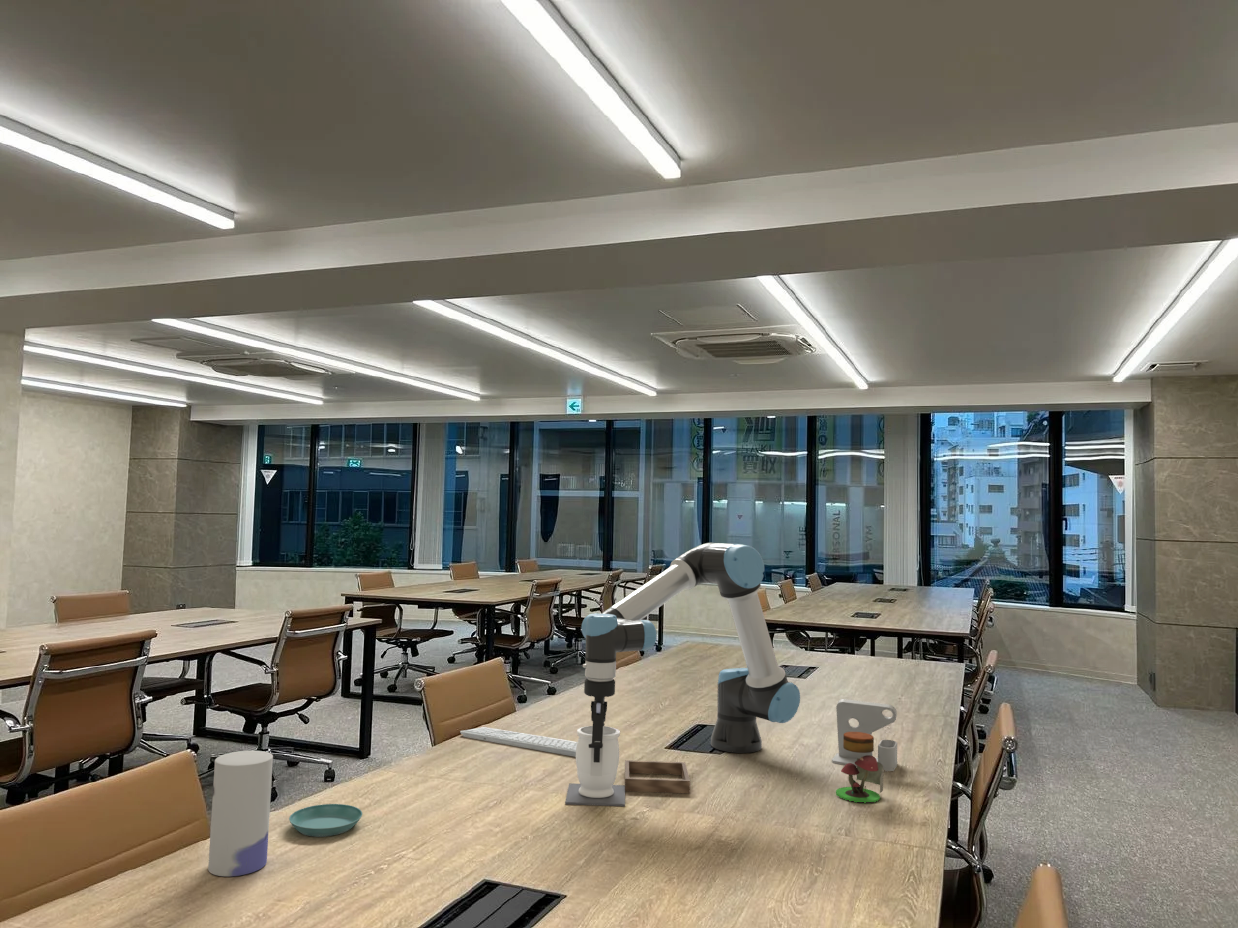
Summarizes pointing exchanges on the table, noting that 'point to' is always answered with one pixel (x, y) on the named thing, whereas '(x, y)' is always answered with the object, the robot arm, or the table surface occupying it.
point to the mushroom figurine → (861, 769)
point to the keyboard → (523, 740)
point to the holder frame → (657, 784)
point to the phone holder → (865, 730)
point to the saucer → (325, 819)
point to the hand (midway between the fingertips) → (597, 766)
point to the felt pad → (578, 799)
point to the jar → (610, 761)
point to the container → (240, 813)
